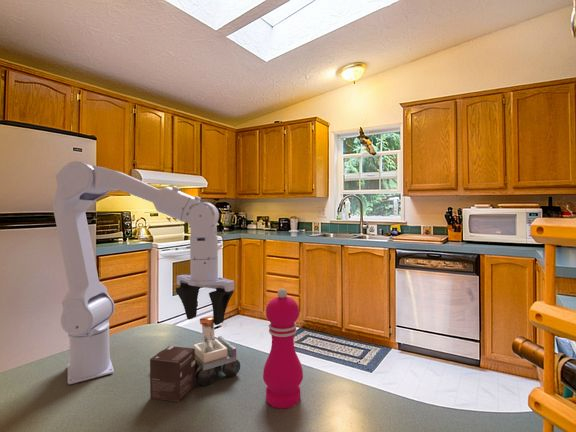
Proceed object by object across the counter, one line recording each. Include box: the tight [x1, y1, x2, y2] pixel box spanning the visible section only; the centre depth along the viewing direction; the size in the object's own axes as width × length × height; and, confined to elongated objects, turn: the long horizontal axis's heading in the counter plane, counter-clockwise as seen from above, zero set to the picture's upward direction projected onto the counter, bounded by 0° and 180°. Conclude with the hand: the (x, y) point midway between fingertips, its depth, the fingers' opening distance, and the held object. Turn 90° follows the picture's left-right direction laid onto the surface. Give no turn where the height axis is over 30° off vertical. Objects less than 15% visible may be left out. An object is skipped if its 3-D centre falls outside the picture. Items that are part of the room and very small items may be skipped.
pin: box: [199, 315, 216, 353], centre depth 67 cm, size 3×3×7 cm
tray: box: [193, 338, 227, 363], centre depth 66 cm, size 6×5×2 cm
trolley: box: [195, 335, 241, 387], centre depth 67 cm, size 8×9×6 cm
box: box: [149, 345, 197, 403], centre depth 60 cm, size 6×6×7 cm
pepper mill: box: [262, 287, 304, 409], centre depth 58 cm, size 7×7×20 cm
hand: (204, 320), depth 69 cm, fingers open, 7 cm apart
